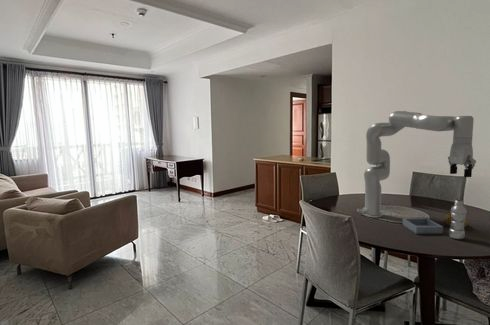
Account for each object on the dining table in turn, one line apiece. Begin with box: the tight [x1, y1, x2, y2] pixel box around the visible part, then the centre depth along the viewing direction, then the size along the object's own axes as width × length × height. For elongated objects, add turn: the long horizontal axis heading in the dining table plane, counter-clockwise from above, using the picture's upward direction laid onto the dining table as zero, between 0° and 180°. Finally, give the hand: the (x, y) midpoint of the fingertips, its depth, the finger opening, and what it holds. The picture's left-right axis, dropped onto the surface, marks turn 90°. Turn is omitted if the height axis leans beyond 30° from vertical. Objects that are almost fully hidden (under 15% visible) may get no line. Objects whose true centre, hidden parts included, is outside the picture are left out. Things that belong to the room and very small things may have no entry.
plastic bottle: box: [448, 198, 468, 240], centre depth 145 cm, size 6×7×20 cm
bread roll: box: [444, 212, 468, 228], centre depth 163 cm, size 13×10×8 cm
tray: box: [401, 217, 444, 235], centre depth 159 cm, size 14×14×4 cm
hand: (460, 175), depth 142 cm, fingers open, 9 cm apart
